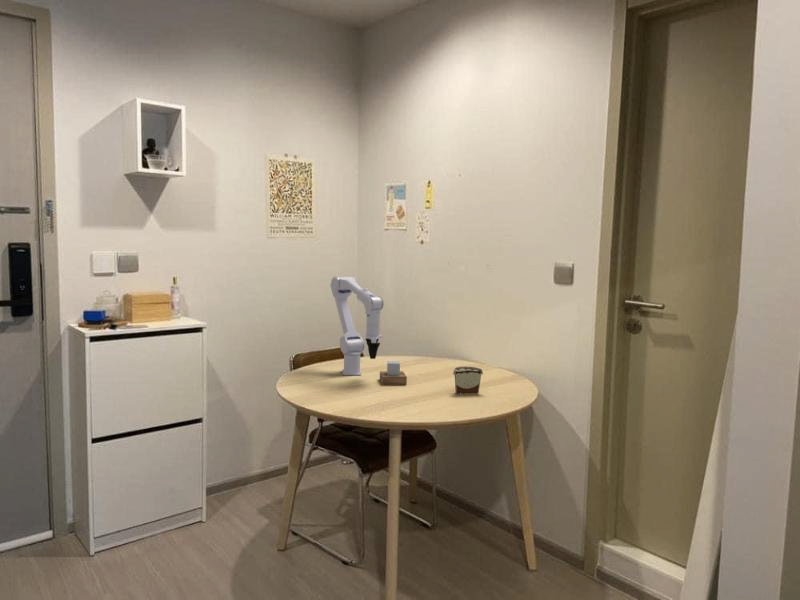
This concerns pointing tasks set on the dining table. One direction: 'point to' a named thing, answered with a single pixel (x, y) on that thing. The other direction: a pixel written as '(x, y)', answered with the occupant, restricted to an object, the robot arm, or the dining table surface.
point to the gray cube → (393, 367)
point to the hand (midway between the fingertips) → (372, 356)
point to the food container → (467, 379)
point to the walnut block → (393, 378)
